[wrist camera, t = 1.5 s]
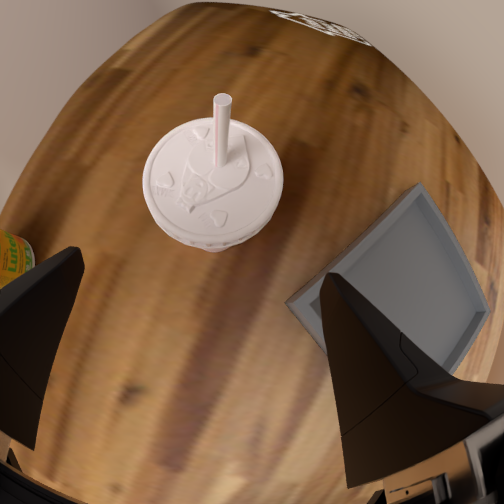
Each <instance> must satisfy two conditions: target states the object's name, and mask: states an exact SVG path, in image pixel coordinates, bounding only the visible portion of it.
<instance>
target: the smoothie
mask: <svg viewBox="0 0 504 504" xmlns="http://www.w3.org/2000/svg"><path fill="white" fill-rule="evenodd" d="M231 103H232V98H231V96H229V95H228V94H224V93H221V94H218V95H216V96H215V97H214V118H202V119H197V120H193V121H190V122H187V123H185V124H182V125H180V126H178V127H177V128H175V129H173V130H172V131H170V132H169V133H168V134H166V135H165V136H164V137H163V138H162V139H161V140H160V141H159V142H158V143H157V144H156V146H155V147H154V148H153V150H152V152H151V153H150V155H149V157H148V159H147V162H146V165H145V168H144V172H143V193H144V197H145V200H146V203H147V206H148V208H149V210H150V212H151V214H152V216H153V218H154V220H155V221H156V223H157V224H158V225H159V226H160V227H161V228H162V229H163V230H164V231H165V232H166V233H167V234H168V235H169V236H170V237H172V238H174V239H176V240H178V241H180V242H181V243H183V244H185V245H189V246H193V247H197V248H201V249H203V250H205V251H208V252H221V251H224V250H226V249H228V248H229V247H230V246H233V245H236V244H240V243H242V242H244V241H246V240H247V239H249V238H250V237H252V236H254V235H255V234H257V233H258V232H259V231H260V230H261V229H262V228H263V227H264V226H265V225H266V224H267V223H268V222H269V220H270V219H271V217H272V215H273V213H274V211H275V209H276V207H277V205H278V202H279V199H280V197H281V193H282V188H283V170H282V165H281V162H280V159H279V157H278V154H277V153H276V151H275V149H274V147H273V146H272V145H271V143H270V142H269V141H268V140H267V139H266V138H265V137H264V136H263V135H262V134H261V133H260V132H258V131H257V130H255V129H254V128H252V127H250V126H248V125H246V124H244V123H242V122H239V121H236V120H232V119H230V114H231Z"/></svg>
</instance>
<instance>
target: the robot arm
mask: <svg viewBox="0 0 504 504" xmlns="http://www.w3.org/2000/svg"><path fill="white" fill-rule="evenodd" d="M84 269H85V265H84V261H83V257H82V253H81V250H80V248H79V247H73V246H70V247H68V248H66V249H64V250H62V251H61V252H59V253H57V254H55V255H54V256H52V257H50V258H48V259H47V260H45V261H43V262H42V263H40V264H38V265H37V266H35V267H33V268H32V269H30V270H29V271H27V272H25V273H24V274H22V275H21V276H19V277H17V278H16V279H14V280H13V281H11V282H10V283H8V284H7V285H5V286H4V287H2V289H0V504H87V503H85V502H82V501H80V500H77V499H75V498H72V497H70V496H67V495H65V494H63V493H61V492H58V491H56V490H54V489H52V488H50V487H48V486H46V485H44V484H42V483H40V482H38V481H36V480H34V479H33V478H31V477H29V476H27V475H25V474H24V473H23V472H22V470H21V468H20V466H19V464H18V462H17V459H16V457H15V455H14V452H13V450H12V449H11V448H10V447H9V446H10V442H11V439H13V440H15V441H16V442H18V443H20V444H22V445H23V446H25V447H27V448H29V449H31V450H33V451H34V449H35V443H36V436H37V430H38V425H39V419H40V414H41V409H42V405H43V400H44V395H45V391H46V387H47V383H48V380H49V376H50V372H51V369H52V365H53V362H54V359H55V356H56V352H57V349H58V346H59V343H60V340H61V337H62V335H63V332H64V329H65V326H66V323H67V321H68V318H69V315H70V313H71V310H72V308H73V305H74V302H75V299H76V295H77V292H78V289H79V286H80V283H81V279H82V276H83V273H84ZM319 297H320V307H321V318H322V329H323V335H324V340H325V345H326V351H327V356H328V361H329V366H330V372H331V377H332V383H333V389H334V395H335V401H336V407H337V413H338V419H339V426H340V433H341V436H342V437H341V441H342V448H343V456H344V464H345V473H346V482H347V488H348V489H349V488H354V487H358V486H362V485H365V484H369V483H373V482H376V481H379V480H383V484H384V489H382V490H379V491H375V493H374V494H373V496H372V497H371V498H370V500H369V501H368V503H367V504H504V385H501V384H489V383H480V382H471V381H464V380H460V379H458V378H455V377H454V376H452V375H451V374H449V373H448V372H447V371H446V370H445V369H444V368H442V367H441V366H440V365H439V364H438V363H436V362H435V361H434V360H433V359H432V358H431V357H429V356H428V355H427V354H426V353H425V352H424V351H422V350H421V349H420V348H419V347H418V346H417V345H416V344H415V343H413V342H412V341H411V340H410V339H409V338H408V337H407V336H406V335H405V334H404V333H403V332H401V330H400V329H399V328H398V327H397V326H396V325H394V324H393V323H392V322H391V321H390V320H389V319H388V318H387V317H386V316H385V315H384V314H383V313H382V312H381V311H380V310H379V309H377V308H376V307H375V306H374V305H373V304H372V303H371V302H370V301H369V300H368V299H367V298H366V297H364V296H363V295H362V294H361V293H360V292H359V291H358V290H357V289H356V288H355V287H353V286H352V285H351V284H350V283H349V282H348V281H347V280H346V279H344V278H343V277H342V276H341V275H340V274H339V273H335V272H328V273H327V274H326V275H325V278H324V280H323V283H322V285H321V288H320V292H319Z"/></svg>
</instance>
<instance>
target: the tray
mask: <svg viewBox="0 0 504 504" xmlns="http://www.w3.org/2000/svg"><path fill="white" fill-rule="evenodd" d="M328 272H335V273H339V274H340V275H341V276H342V277H343V278H344V279H346V280H347V281H348V282H349V283H350V284H351V285H352V286H353V287H355V288H356V289H357V290H358V291H359V292H360V293H361V294H362V295H363V296H364V297H366V298H367V299H368V300H369V301H370V302H371V303H372V304H373V305H374V306H375V307H376V308H377V309H379V310H380V311H381V312H382V313H383V314H384V315H385V316H386V317H387V318H388V319H389V320H390V321H391V322H392V323H393V324H394V325H396V326H397V327H398V328H399V329H400V330H401V332H403V333H404V334H405V335H406V336H407V337H408V338H409V339H410V340H411V341H412V342H413V343H415V344H416V345H417V346H418V347H419V348H420V349H421V350H422V351H424V352H425V353H426V354H427V355H428V356H429V357H431V358H432V359H433V360H434V361H435V362H436V363H438V364H439V365H440V366H441V367H442V368H444V369H445V370H446V371H447V372H448V373H449V374H451V375H453V374H454V372H455V371H456V369H457V368H458V366H459V365H460V363H461V362H462V360H463V359H464V357H465V356H466V354H467V353H468V351H469V349H470V348H471V346H472V344H473V343H474V341H475V339H476V338H477V336H478V334H479V332H480V331H481V329H482V327H483V325H484V323H485V321H486V319H487V318H488V316H489V314H490V312H491V311H490V308H489V306H488V303H487V301H486V298H485V296H484V294H483V291H482V289H481V287H480V284H479V282H478V280H477V278H476V276H475V274H474V271H473V269H472V267H471V265H470V263H469V261H468V259H467V257H466V255H465V253H464V252H463V250H462V248H461V246H460V244H459V242H458V240H457V239H456V237H455V235H454V233H453V232H452V230H451V228H450V227H449V225H448V223H447V222H446V220H445V218H444V217H443V215H442V213H441V212H440V210H439V209H438V207H437V206H436V204H435V203H434V201H433V200H432V198H431V197H430V195H429V194H428V192H427V191H426V189H425V188H424V186H423V185H422V184H421V182H419V183H417V184H416V185H414V186H412V187H411V188H409V189H408V190H406V191H405V192H404V193H403V194H402V195H401V196H400V197H399V198H398V199H397V200H396V201H395V202H394V203H393V204H392V205H391V206H390V207H389V208H388V209H387V210H386V211H385V212H384V213H383V214H382V215H381V216H380V217H379V218H378V219H377V220H376V221H375V222H374V223H373V224H372V225H371V226H369V227H368V228H367V229H366V230H365V231H364V232H363V233H362V234H361V235H360V236H359V237H358V238H357V239H356V240H355V241H354V242H353V243H351V244H350V245H349V246H348V247H347V248H346V249H345V250H344V251H343V252H342V253H341V254H340V255H338V256H337V257H336V258H335V259H334V260H333V261H332V262H331V263H330V264H328V265H327V266H326V267H325V268H324V269H323V270H322V271H321V272H319V273H318V274H317V275H316V276H315V277H314V278H313V279H311V280H310V281H309V282H308V283H307V284H306V285H305V286H303V287H302V288H301V289H300V290H299V291H298V292H296V293H295V294H294V295H293V296H292V297H290V298H289V299H288V300H287V301H286V302H285V304H286V305H287V306H288V308H289V309H290V310H291V311H292V313H293V314H294V315H295V316H296V318H297V319H298V320H299V321H300V323H301V324H302V325H303V326H304V328H305V329H306V330H307V331H308V333H309V334H310V335H311V336H312V338H313V339H314V340H315V341H316V343H317V344H318V345H319V346H320V348H321V349H322V350H323V351H324V353H325V354H326V355H327V351H326V345H325V340H324V335H323V329H322V318H321V307H320V297H319V292H320V288H321V285H322V283H323V280H324V278H325V275H326V274H327V273H328Z"/></svg>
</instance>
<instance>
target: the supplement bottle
mask: <svg viewBox="0 0 504 504" xmlns="http://www.w3.org/2000/svg"><path fill="white" fill-rule="evenodd" d="M33 267H35V258H34V253H33V250H32V248H31V246H30V244H29V243H28V242H27V241H26V240H25V239H23V238H21V237H19V236H16V235H14V234H11V233H9V232H6V231H4V230H1V229H0V289H2V287H4V286H5V285H7V284H8V283H10V282H11V281H13V280H14V279H16V278H17V277H19V276H21V275H22V274H24V273H25V272H27V271H29V270H30V269H32V268H33Z"/></svg>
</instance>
